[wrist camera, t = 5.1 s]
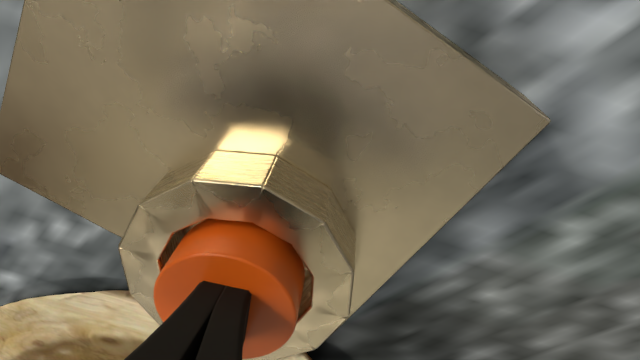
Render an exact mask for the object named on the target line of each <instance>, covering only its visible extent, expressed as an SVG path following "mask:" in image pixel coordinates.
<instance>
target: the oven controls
mask: <svg viewBox="0 0 640 360" xmlns="http://www.w3.org/2000/svg"><path fill="white" fill-rule="evenodd" d="M550 121H551V120H550V118H549V117H547V116H546V115H545V114H544V113H543V112H542V111H541V110H540V109H539V108H538V107H536V106H535V105H534V104H533V103H532V102H531V101H530V100H529V99H528V98H527V97H526V96H524V95H523V94H522V93H521V92H519V91H518V90H517V89H515V88H514V87H512V86H511V85H510V84H508V83H507V82H506V81H504V80H503V79H502V78H500V77H499V76H498V75H496V74H495V73H494V72H492V71H491V70H489V69H488V68H487V67H485V66H484V65H483V64H481V63H480V62H479V61H477V60H476V59H475V58H473V57H472V56H471V55H469V54H468V53H466V52H465V51H464V50H462V49H461V48H460V47H458V46H457V45H456V44H454V43H453V42H452V41H450V40H449V39H448V38H446V37H445V36H443V35H442V34H441V33H439V32H438V31H437V30H435V29H434V28H433V27H431V26H430V25H429V24H427V23H426V22H425V21H423V20H422V19H420V18H419V17H418V16H416V15H415V14H414V13H412V12H411V11H410V10H408V9H407V8H406V7H404V6H403V5H402V4H400V3H399V2H398V1H396V0H24V5H23V10H22V14H21V19H20V23H19V28H18V33H17V37H16V42H15V46H14V51H13V56H12V60H11V65H10V69H9V74H8V79H7V83H6V88H5V92H4V97H3V102H2V106H1V111H0V174H1V175H3V176H5V177H7V178H9V179H11V180H13V181H15V182H17V183H18V184H20V185H22V186H24V187H26V188H28V189H30V190H32V191H34V192H36V193H38V194H39V195H41V196H43V197H45V198H47V199H49V200H51V201H53V202H55V203H57V204H59V205H60V206H62V207H64V208H66V209H68V210H70V211H72V212H74V213H76V214H78V215H80V216H81V217H83V218H85V219H87V220H89V221H91V222H93V223H95V224H97V225H99V226H101V227H102V228H104V229H106V230H108V231H110V232H112V233H114V234H116V235H118V236H120V237H122V239H121V241H120V243H119V253H120V257H121V261H122V265H123V269H124V273H125V277H126V280H127V284H128V288H129V292H130V294H131V296H132V297H133V298H134V299H135V300H136V301H137V302H138V303H139V304H140V305H141V306H142V307H143V309H144V310H145V311H146V312H147V313H148V314H149V315H150V316H151V317H152V318H153V319H154V320H155V321H156V322H157V324H158V325H159V326H160V325H161V324H162V323H163V321H162V320H161V318H160V316H159V314H158V312H157V310H156V307H155V304H154V297H153V295H154V285H155V281H156V279H157V277H158V275H159V273H160V272H161V270H162V269H163V267H164V266H165V264H166V263H167V261H168V260H169V258H170V257H171V255H172V254H173V252H174V251H175V249H176V247H177V246H178V244H179V243H180V241H181V240H182V238H183V237H184V236H185V234H186V233H187V232H188V231H189V230H190V229H191V228H192V227H194V226H195V225H197V224H199V223H201V222H203V221H205V220H208V219H219V220H229V221H239V222H249V223H254V224H256V225H257V226H259V227H261V228H263V229H265V230H266V231H268V232H270V233H272V234H273V235H275V236H277V237H279V238H280V239H282V240H284V241H286V242H287V243H289V244H291V245H292V246H293V247H294V249H295V250H296V252H297V254H298V255H299V257H300V258H301V260H302V262H303V265H304V270H305V282H304V287H303V293H302V298H301V303H300V308H299V313H298V318H297V323H296V327H295V330H294V332H293V334H292V336H291V337H290V338H289V340H288V341H287V342H286V343H285V344H284V345H283V346H282V347H281V348H279V349H278V350H276V351H274V352H272V353H270V354H268V355H265V356H262V357H257V358H251V359H244V360H278V359H282V358H286V357H290V356H294V355H298V354H301V353H305V352H309V351H313V350H315V349H317V348H318V347H319V346H320V345H322V344H323V343H324V342H325V341H326V340H327V339H328V338H329V337H330V336H331V335H332V334H333V333H334V332H335V331H336V330H337V329H338V328H339V327H340V326H341V325H342V324H343V323H344V322H345V321H346V320H347V319H348V318H349V317H350V316H351V315H352V314H353V313H354V312H355V311H357V310H358V309H359V308H360V307H361V306H362V305H363V304H364V303H365V302H366V301H367V300H368V299H369V298H370V297H371V296H372V295H373V294H374V293H375V292H376V291H377V290H378V289H379V288H380V287H381V286H382V285H383V284H384V283H385V282H386V281H387V280H388V279H389V278H390V277H391V276H393V275H394V274H395V273H396V272H397V271H398V270H399V269H400V268H401V267H402V266H403V265H404V264H405V263H406V262H407V261H408V260H409V259H410V258H411V257H412V256H413V255H414V254H415V253H416V252H417V251H418V250H419V249H420V248H421V247H422V246H423V245H424V244H425V243H426V242H427V241H429V240H430V239H431V238H432V237H433V236H434V235H435V234H436V233H437V232H438V231H439V230H440V229H441V228H442V227H443V226H444V225H445V224H446V223H447V222H448V221H449V220H450V219H451V218H452V217H453V216H454V215H455V214H456V213H457V212H458V211H459V210H460V209H461V208H462V207H463V206H465V205H466V204H467V203H468V202H469V201H470V200H471V199H472V198H473V197H474V196H475V195H476V194H477V193H478V192H479V191H480V190H481V189H482V188H483V187H484V186H485V185H486V184H487V183H488V182H489V181H490V180H491V179H492V178H493V177H494V176H495V175H496V174H497V173H498V172H499V171H500V170H502V169H503V168H504V167H505V166H506V165H507V164H508V163H509V162H510V161H511V160H512V159H513V158H514V157H515V156H516V155H517V154H518V153H519V152H520V151H521V150H522V149H523V148H524V147H525V146H526V145H527V144H528V143H529V142H530V141H531V140H532V139H533V138H534V137H535V136H536V135H538V134H539V133H540V132H541V131H542V130H543V129H544V128H545V127H546V126H547V125H548V124H549V123H550Z"/></svg>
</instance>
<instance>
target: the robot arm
mask: <svg viewBox="0 0 640 360" xmlns="http://www.w3.org/2000/svg"><path fill="white" fill-rule="evenodd" d="M251 296H252V294H251V293H250V292H249V291H248V290H244V289H239V288H235V287H230V286H226V285H221V284H217V283H212V282H208V281H202V282H200V283H199V284H198V285H197V286H196V288H195V289H194V290H193V291H192V292H191V293H190V295H189V296H188V297H187V298H186V299H185V300H184V301H183V302H182V303H181V305H180V306H179V307H178V308H177V309H176V310H175V311H174V312H173V313H172V314H171V315H170V316H169V317H168V318H167V319H166V320H165V321H164V322H163V323H162V324H161V325H160V326H159V327H158V328H157V329H156V330H155V331H154V332H153V333H152V334H151V335H150V336H149V337H148V338H147V339H146V340H145V341H144V342H143V343H142V344H141V345H140V346H139V347H137V348H136V349H135V350H134V351H133V352H132V353H131V354H130V355H128V356H127V357H126V358H125V359H124V360H242V350H243V344H244V340H245V335H246V328H247V322H248V315H249V309H250V302H251Z"/></svg>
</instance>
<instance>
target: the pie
mask: <svg viewBox="0 0 640 360" xmlns="http://www.w3.org/2000/svg"><path fill="white" fill-rule="evenodd" d="M158 327H159V325H158V324H157V322H156V321H155V320H154V319H153V318H152V317H151V316H150V315H149V314H148V313H147V312H146V311H145V310H144V309H143V307H142V306H141V305H140V304H139V303H138V302H137V301H136V300H135V299H134V298H133V297H132V296H131V294H130V292H129V291H124V290H109V291H98V292H85V293H69V294H61V295H50V296H44V297H38V298H29V299H24V300H21V301H18V302H14V303H9V304H7V305H4V306H1V307H0V360H124V359H125V358H126V357H127V356H128V355H130V354H131V353H132V352H133V351H134V350H135V349H136V348H137V347H139V346H140V345H141V344H142V343H143V342H144V341H145V340H146V339H147V338H148V337H149V336H150V335H151V334H152V333H153V332H154V331H155V330H156V329H157V328H158ZM242 360H244V359H242ZM278 360H312V358H311V357H310V356H309V355H308V354H307V353H306V352H305V353H301V354H298V355H294V356H290V357H286V358H282V359H278Z"/></svg>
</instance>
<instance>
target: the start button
mask: <svg viewBox="0 0 640 360" xmlns="http://www.w3.org/2000/svg"><path fill="white" fill-rule="evenodd" d="M202 281H208V282H212V283H217V284H221V285H226V286H230V287H235V288H239V289H244V290H248V291H249V292H250V293H251V294H252V296H251V302H250V309H249V315H248V322H247V328H246V335H245V340H244V344H243V350H242V359H251V358H257V357H262V356H265V355H268V354H270V353H272V352H274V351H276V350H278V349H279V348H281V347H282V346H283V345H284V344H285V343H286V342H287V341H288V340H289V338H290V337H291V336H292V334H293V332H294V330H295V327H296V323H297V318H298V313H299V308H300V303H301V298H302V293H303V287H304V282H305V270H304V265H303V262H302V260H301V258H300V257H299V255H298V254H297V252H296V250H295V249H294V247H293V246H292V245H291V244H289V243H287V242H286V241H284V240H282V239H280V238H279V237H277V236H275V235H273V234H272V233H270V232H268V231H266V230H265V229H263V228H261V227H259V226H257V225H256V224H254V223H249V222H239V221H229V220H219V219H208V220H205V221H203V222H201V223H199V224H197V225H195V226H194V227H192V228H191V229H190V230H189V231H188V232H187V233H186V234H185V236H184V237H183V238H182V240H181V241H180V243H179V244H178V246H177V247H176V249H175V251H174V252H173V254H172V255H171V257H170V258H169V260H168V261H167V263H166V264H165V266H164V267H163V269H162V270H161V272H160V273H159V275H158V277H157V279H156V281H155V285H154V295H153V297H154V304H155V307H156V310H157V312H158V314H159V316H160V318H161V320H162V321H163V322H164V321H165V320H166V319H167V318H168V317H169V316H170V315H171V314H172V313H173V312H174V311H175V310H176V309H177V308H178V307H179V306H180V305H181V303H182V302H183V301H184V300H185V299H186V298H187V297H188V296H189V295H190V293H191V292H192V291H193V290H194V289H195V288H196V286H197V285H198V284H199V283H200V282H202Z"/></svg>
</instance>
